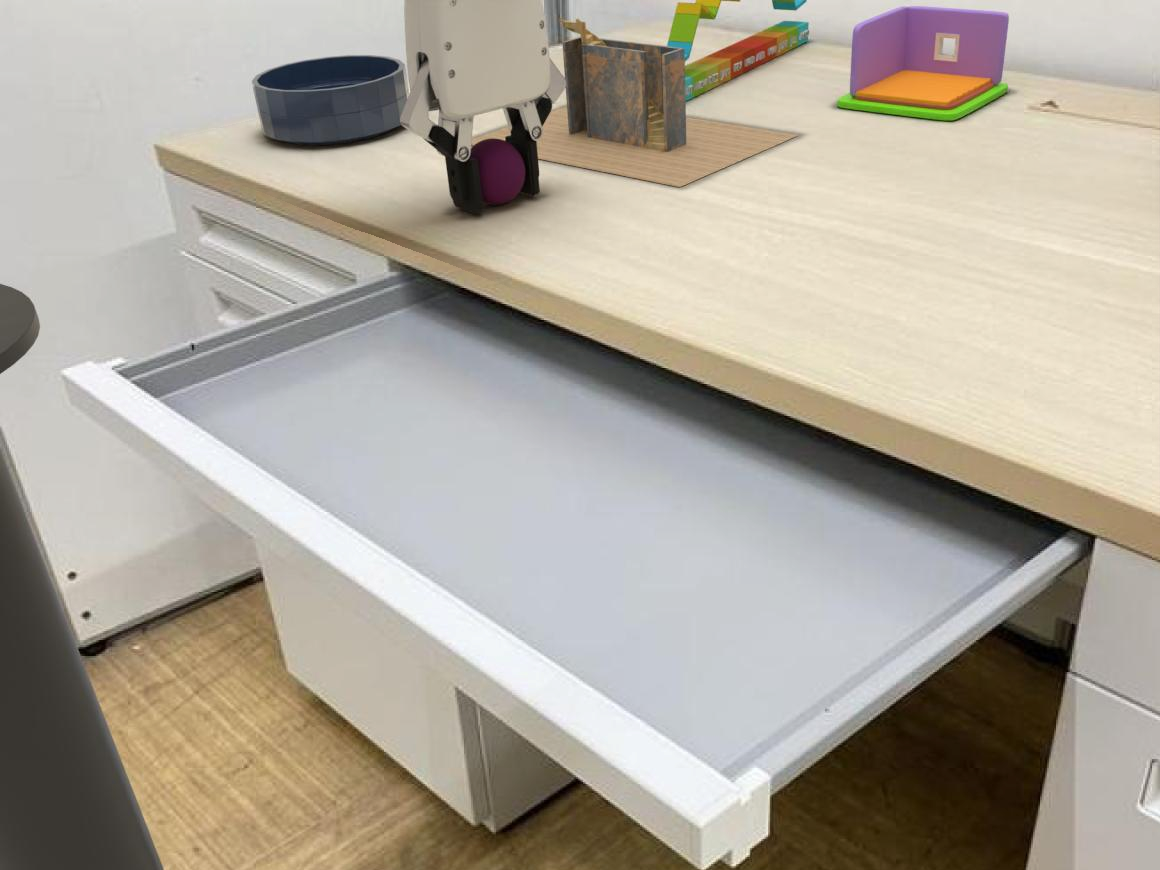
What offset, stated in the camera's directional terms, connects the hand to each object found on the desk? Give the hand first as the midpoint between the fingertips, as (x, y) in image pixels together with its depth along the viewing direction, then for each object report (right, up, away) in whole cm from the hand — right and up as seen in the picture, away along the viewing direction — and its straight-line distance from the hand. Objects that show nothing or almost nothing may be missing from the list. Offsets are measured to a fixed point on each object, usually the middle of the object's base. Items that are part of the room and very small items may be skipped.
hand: (496, 197), depth 96 cm
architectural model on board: (+10, +9, +13) cm, 19 cm away
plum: (0, +2, -1) cm, 2 cm away
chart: (+21, +22, +30) cm, 43 cm away
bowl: (-17, +14, +22) cm, 31 cm away
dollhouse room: (+38, +15, +17) cm, 44 cm away
